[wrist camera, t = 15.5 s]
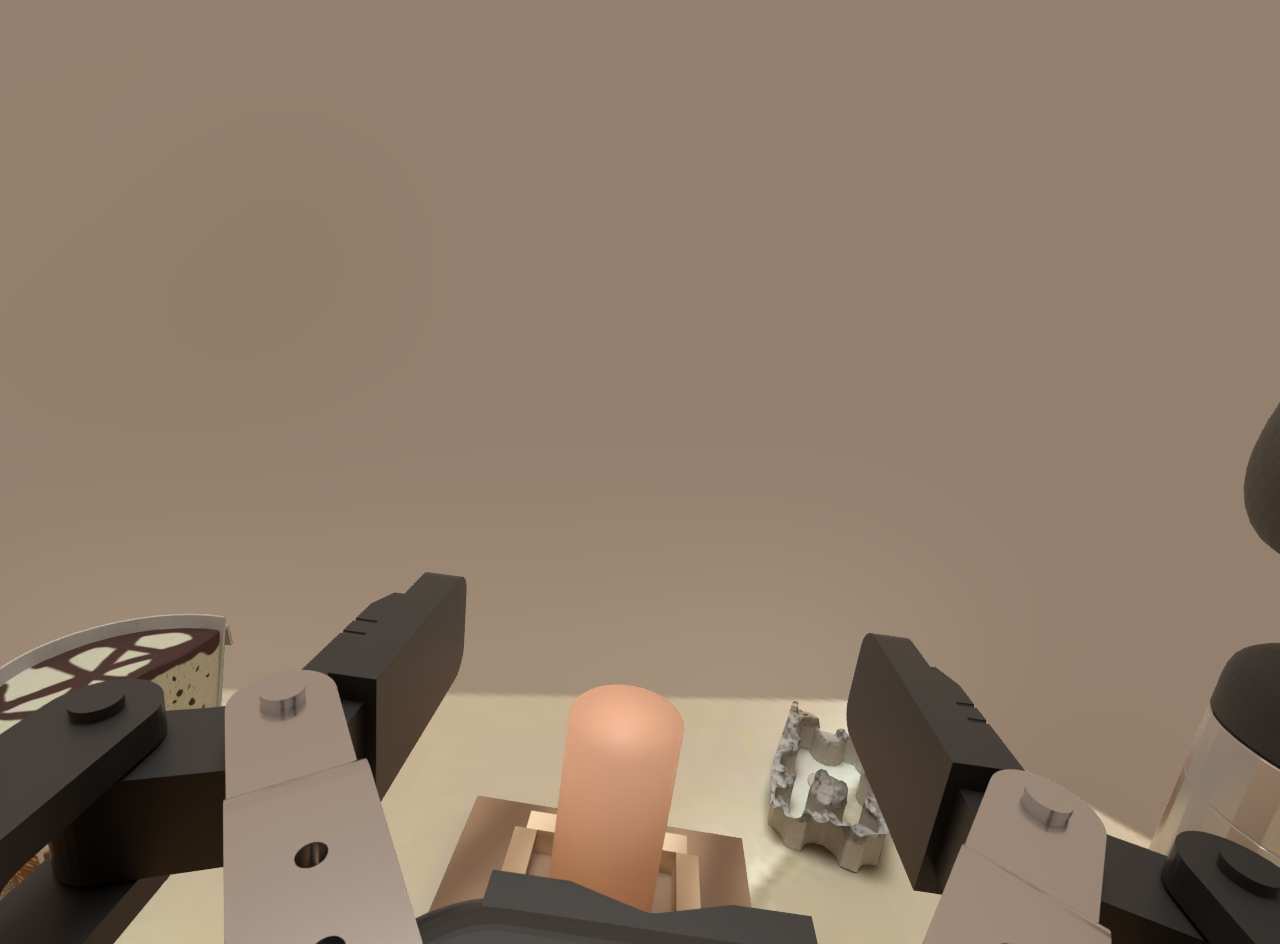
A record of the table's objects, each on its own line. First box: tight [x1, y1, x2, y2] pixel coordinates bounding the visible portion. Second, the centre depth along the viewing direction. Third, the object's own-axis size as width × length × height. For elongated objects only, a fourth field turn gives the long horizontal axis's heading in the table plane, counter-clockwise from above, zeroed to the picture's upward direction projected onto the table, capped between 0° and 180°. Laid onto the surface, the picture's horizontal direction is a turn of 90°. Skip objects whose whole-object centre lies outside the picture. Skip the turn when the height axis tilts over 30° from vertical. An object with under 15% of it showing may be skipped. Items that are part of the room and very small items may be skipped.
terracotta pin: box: [549, 684, 684, 913], centre depth 27 cm, size 5×5×12 cm
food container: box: [0, 614, 233, 886], centre depth 30 cm, size 12×6×10 cm, turn 175°
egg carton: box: [768, 701, 890, 872], centre depth 40 cm, size 11×8×4 cm
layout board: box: [429, 796, 751, 913], centre depth 29 cm, size 16×14×2 cm
